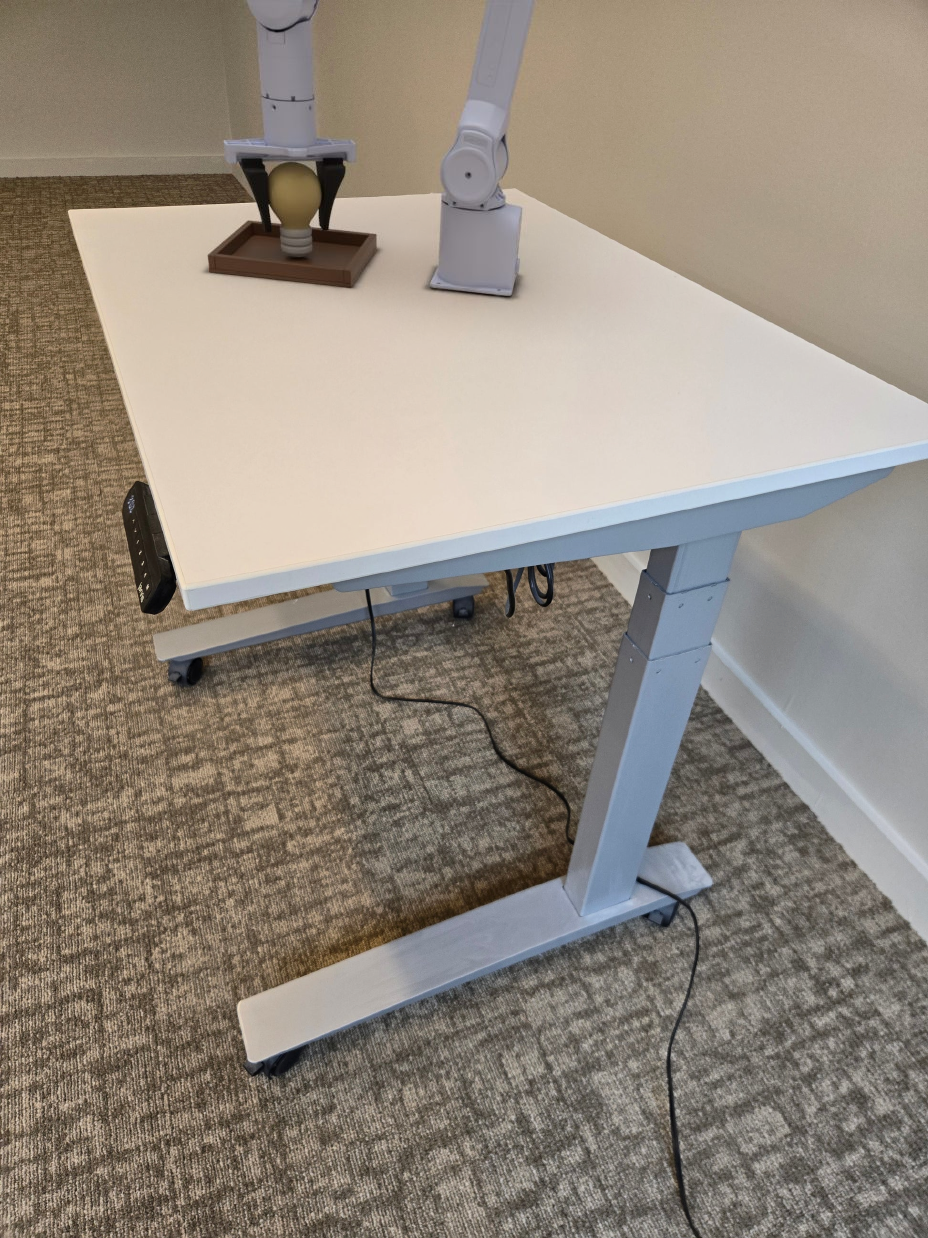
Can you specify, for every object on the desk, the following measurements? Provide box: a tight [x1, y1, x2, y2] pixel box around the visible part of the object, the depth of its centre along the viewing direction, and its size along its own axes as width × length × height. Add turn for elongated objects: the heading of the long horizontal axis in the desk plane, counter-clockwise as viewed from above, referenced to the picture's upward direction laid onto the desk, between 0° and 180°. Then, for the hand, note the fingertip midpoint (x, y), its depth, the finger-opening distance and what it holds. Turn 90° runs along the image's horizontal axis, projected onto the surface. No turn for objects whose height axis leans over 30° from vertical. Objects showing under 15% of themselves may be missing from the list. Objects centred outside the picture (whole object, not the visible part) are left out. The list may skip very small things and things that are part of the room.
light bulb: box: [268, 161, 322, 257], centre depth 101 cm, size 6×6×10 cm
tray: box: [207, 220, 378, 288], centre depth 104 cm, size 17×15×2 cm
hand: (295, 228), depth 103 cm, fingers closed on light bulb, 6 cm apart
